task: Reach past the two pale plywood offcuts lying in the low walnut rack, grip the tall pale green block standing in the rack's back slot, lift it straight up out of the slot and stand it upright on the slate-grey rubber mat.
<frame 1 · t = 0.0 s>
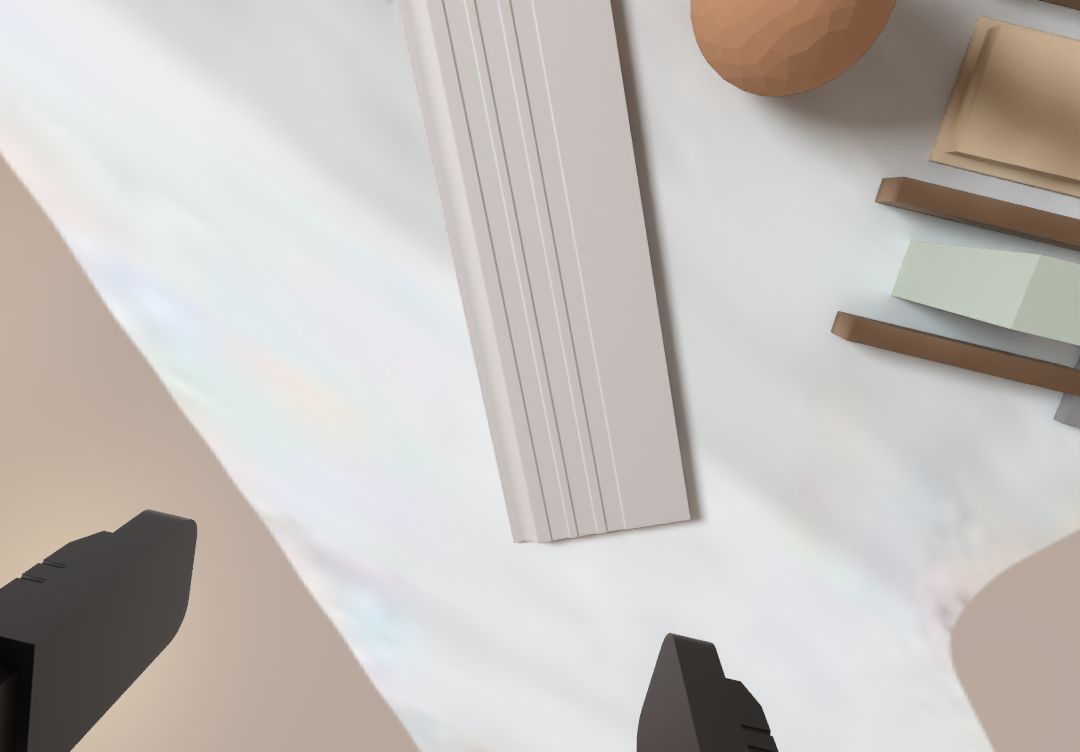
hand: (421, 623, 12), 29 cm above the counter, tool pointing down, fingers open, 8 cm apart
rack: (1000, 211, 38), on the counter
baseboard molding: (540, 271, 41), on the counter
egg: (757, 23, 37), on the counter
pale green block: (972, 285, 39), on the counter
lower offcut: (1027, 114, 38), on the counter, touching upper offcut
upper offcut: (1042, 110, 36), resting on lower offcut
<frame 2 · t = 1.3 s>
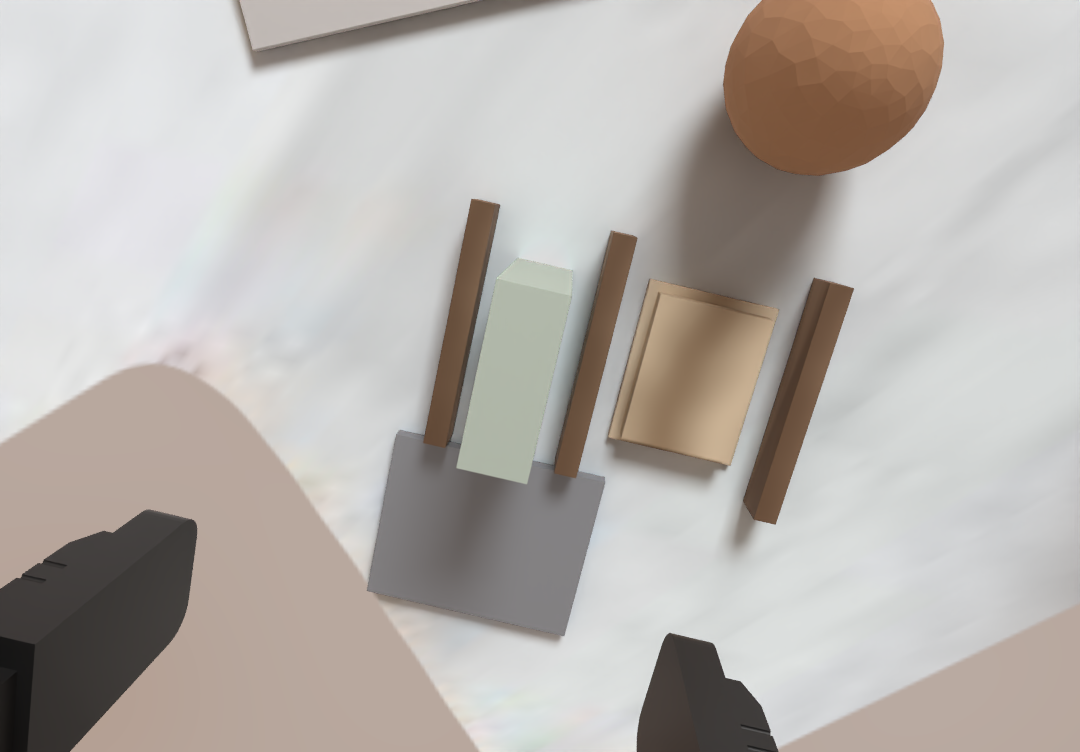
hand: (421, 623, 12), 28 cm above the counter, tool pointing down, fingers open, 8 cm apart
rack: (600, 352, 39), on the counter
egg: (788, 94, 36), on the counter
pale green block: (528, 335, 39), on the counter
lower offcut: (688, 370, 40), on the counter, touching upper offcut
upper offcut: (692, 375, 39), resting on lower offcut
rubber mat: (484, 532, 42), on the counter
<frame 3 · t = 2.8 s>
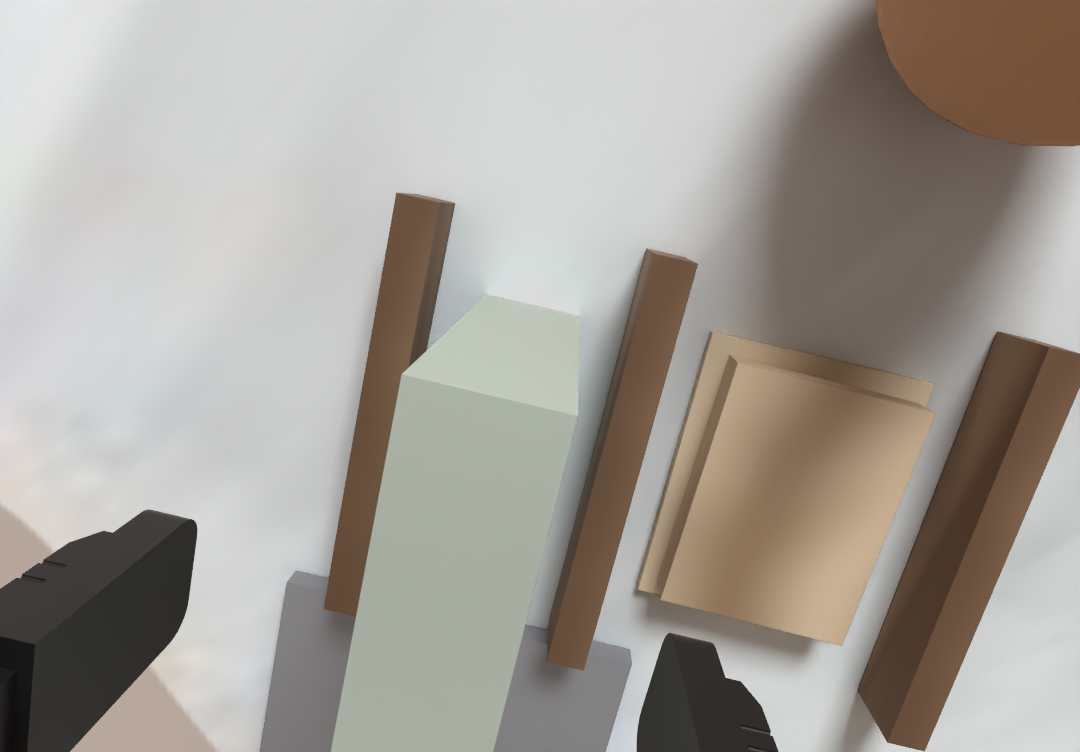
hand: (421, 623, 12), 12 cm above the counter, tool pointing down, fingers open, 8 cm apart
rack: (624, 452, 23), on the counter
egg: (967, 5, 20), on the counter
pale green block: (505, 423, 24), on the counter
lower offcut: (769, 478, 24), on the counter, touching upper offcut
upper offcut: (781, 495, 23), resting on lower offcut
rubber mat: (435, 728, 26), on the counter
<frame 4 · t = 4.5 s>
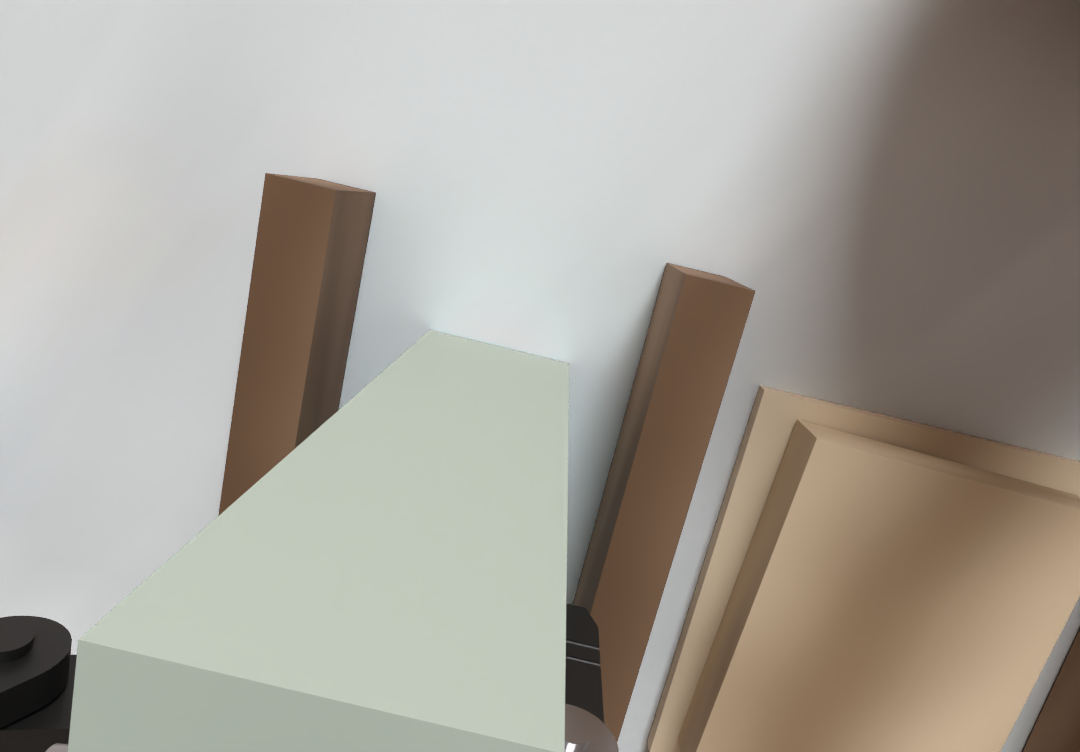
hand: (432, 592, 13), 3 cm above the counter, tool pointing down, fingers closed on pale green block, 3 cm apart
rack: (631, 560, 16), on the counter
pale green block: (460, 518, 16), on the counter, touching gripper
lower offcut: (838, 591, 17), on the counter, touching upper offcut
upper offcut: (865, 623, 16), resting on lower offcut
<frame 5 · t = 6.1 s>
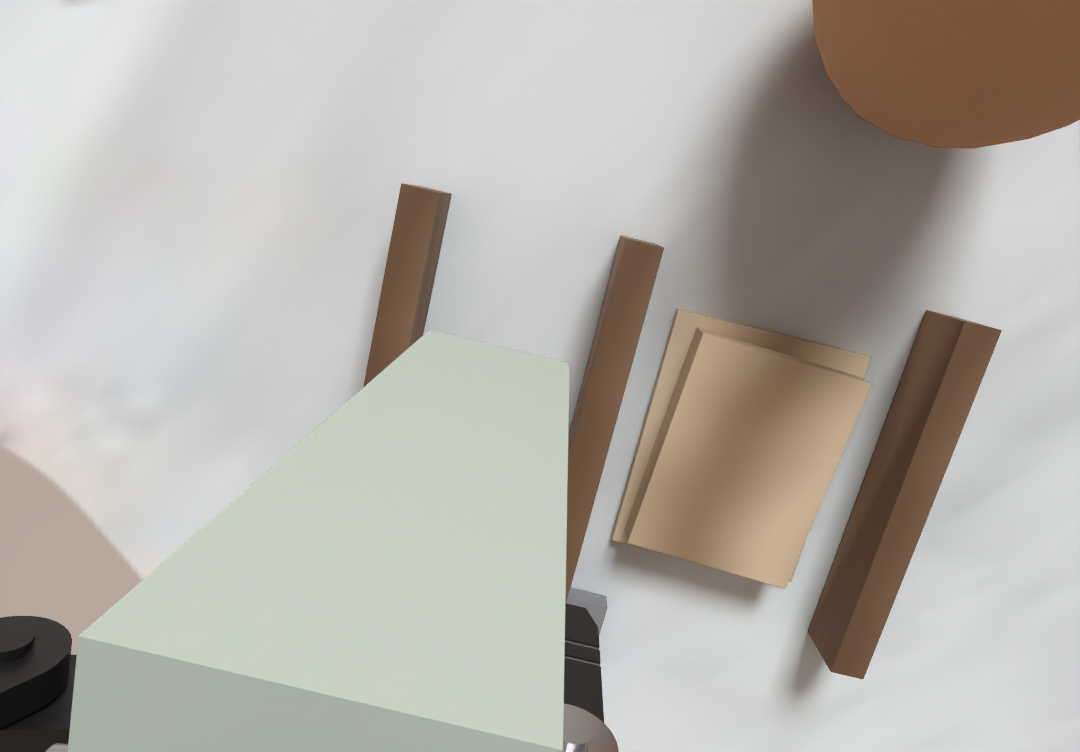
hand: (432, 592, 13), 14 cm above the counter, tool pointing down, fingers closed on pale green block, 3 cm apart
rack: (601, 417, 26), on the counter
egg: (897, 26, 23), on the counter
pale green block: (460, 518, 16), point 11 cm above the counter, touching gripper
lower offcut: (729, 441, 27), on the counter, touching upper offcut
upper offcut: (737, 454, 26), resting on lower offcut
rubber mat: (430, 670, 29), on the counter
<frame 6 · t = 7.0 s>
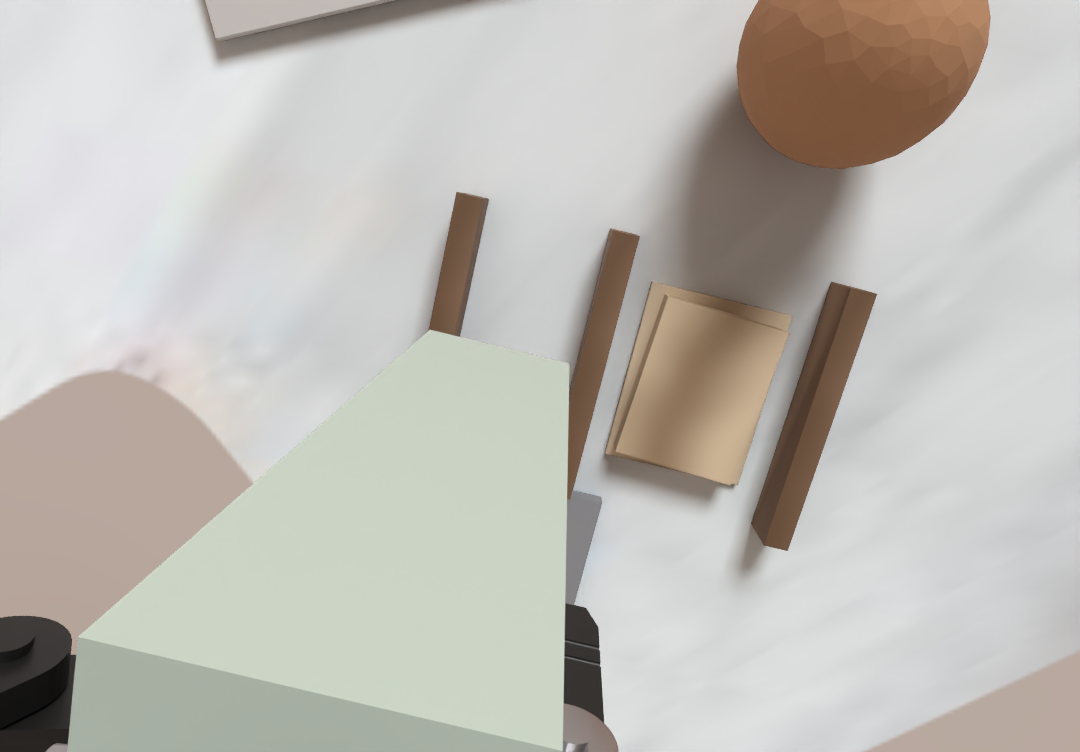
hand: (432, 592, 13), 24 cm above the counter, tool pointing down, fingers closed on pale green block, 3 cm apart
rack: (597, 361, 36), on the counter
egg: (805, 79, 33), on the counter
pale green block: (460, 518, 16), point 21 cm above the counter, touching gripper
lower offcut: (692, 381, 37), on the counter, touching upper offcut
upper offcut: (695, 387, 36), resting on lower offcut
rubber mat: (470, 555, 39), on the counter
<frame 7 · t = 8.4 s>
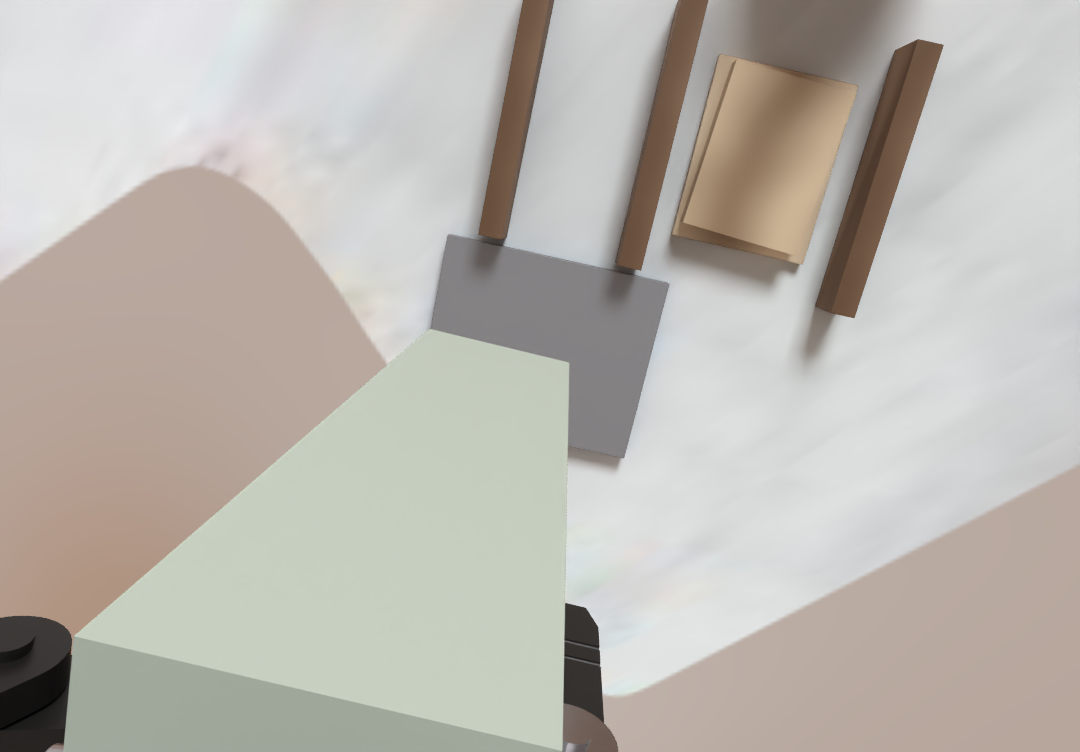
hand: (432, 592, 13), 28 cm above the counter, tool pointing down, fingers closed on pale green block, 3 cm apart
rack: (664, 141, 37), on the counter
pale green block: (460, 517, 16), point 25 cm above the counter, touching gripper
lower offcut: (757, 163, 38), on the counter
upper offcut: (761, 161, 37), resting on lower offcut
rubber mat: (539, 347, 40), on the counter
when the fingers open (5 cm above the counter, at t = 13.0 s): pale green block drops 1 cm, resting on rubber mat.
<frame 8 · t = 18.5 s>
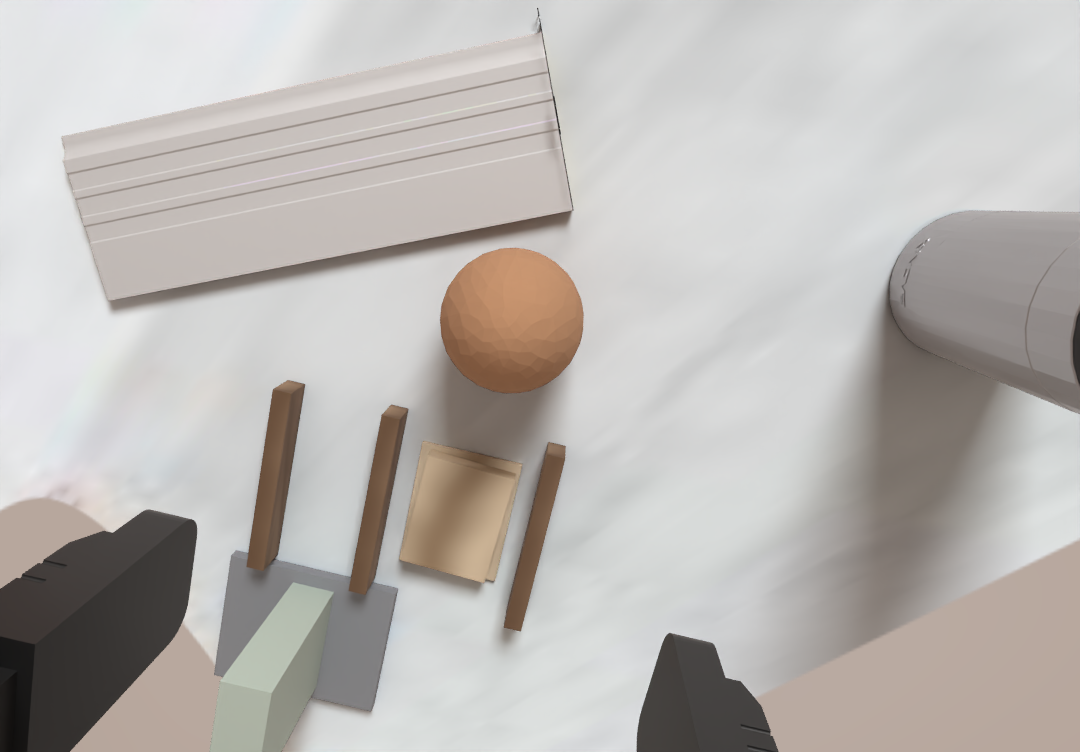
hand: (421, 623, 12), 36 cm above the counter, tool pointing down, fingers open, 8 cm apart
rack: (388, 494, 51), on the counter
baseboard molding: (319, 162, 46), on the counter
egg: (519, 307, 47), on the counter
pale green block: (304, 635, 52), point 1 cm above the counter, touching rubber mat
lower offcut: (461, 506, 51), on the counter, touching upper offcut
upper offcut: (459, 513, 50), resting on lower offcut
rubber mat: (306, 629, 53), on the counter
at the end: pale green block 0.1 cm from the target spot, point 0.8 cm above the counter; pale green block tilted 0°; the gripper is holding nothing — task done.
